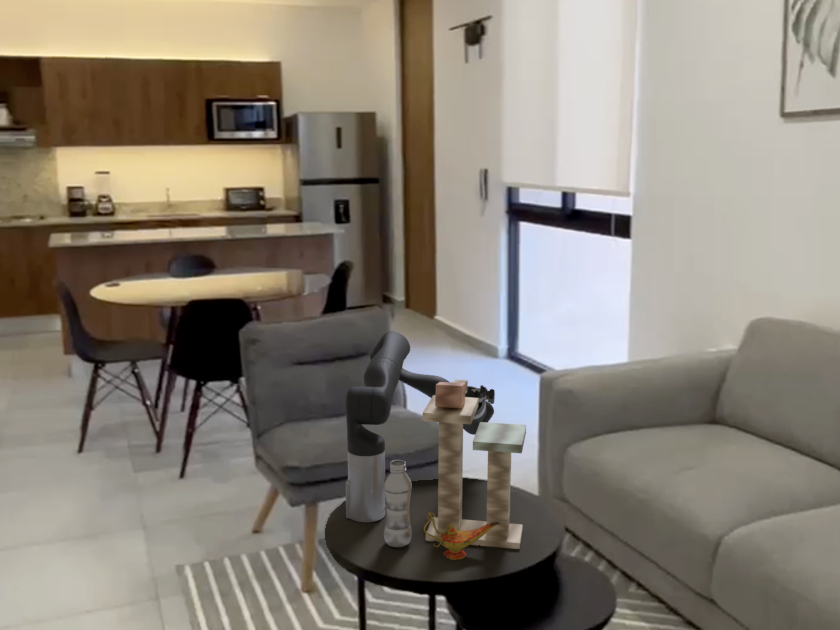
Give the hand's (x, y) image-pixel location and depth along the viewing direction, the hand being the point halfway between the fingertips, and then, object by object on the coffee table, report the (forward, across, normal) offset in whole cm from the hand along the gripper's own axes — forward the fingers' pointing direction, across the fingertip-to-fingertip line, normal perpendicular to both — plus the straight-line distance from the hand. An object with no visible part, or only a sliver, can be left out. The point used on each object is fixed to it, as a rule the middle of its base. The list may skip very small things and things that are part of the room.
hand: (464, 388), depth 217 cm
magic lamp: (+10, -3, -42) cm, 43 cm away
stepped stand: (+2, -5, -36) cm, 37 cm away
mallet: (+13, 0, -7) cm, 14 cm away
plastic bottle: (+9, +12, -40) cm, 43 cm away
